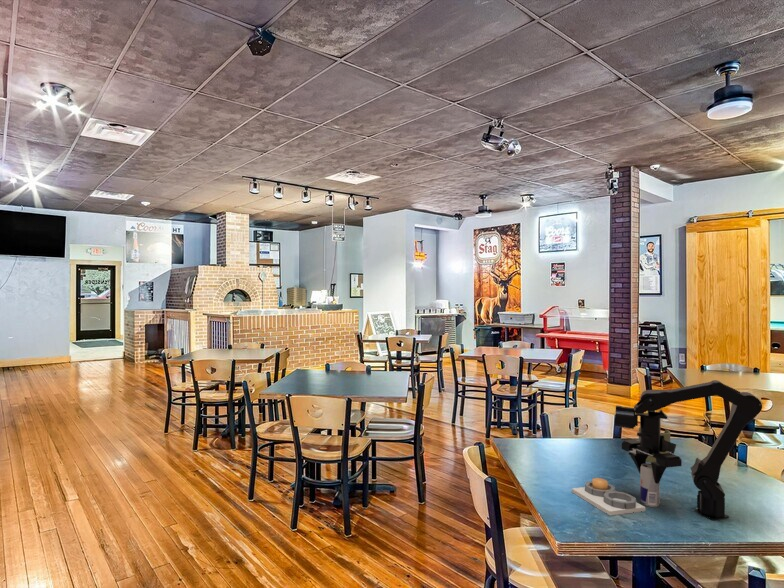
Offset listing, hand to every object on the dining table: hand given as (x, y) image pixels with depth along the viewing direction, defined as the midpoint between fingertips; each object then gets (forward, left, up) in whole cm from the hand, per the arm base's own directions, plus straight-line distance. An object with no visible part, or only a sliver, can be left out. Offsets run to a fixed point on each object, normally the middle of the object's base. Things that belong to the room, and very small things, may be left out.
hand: (649, 480), depth 150 cm
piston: (+35, -36, -8) cm, 51 cm away
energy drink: (0, 0, -8) cm, 8 cm away
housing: (+5, +12, -8) cm, 15 cm away
